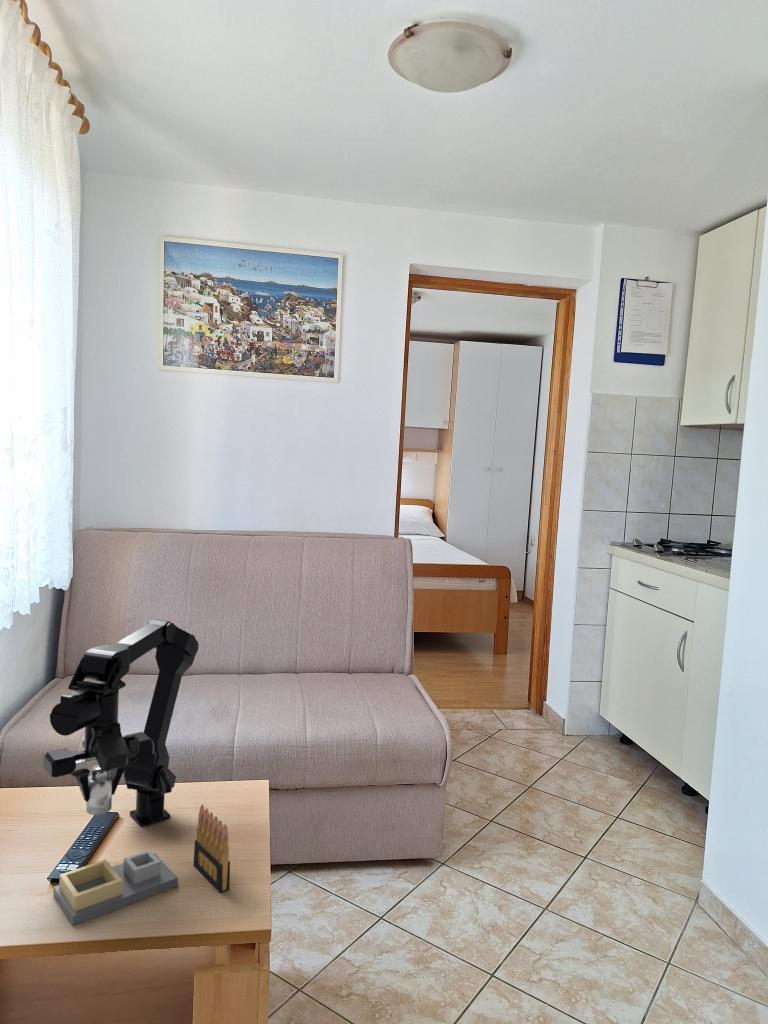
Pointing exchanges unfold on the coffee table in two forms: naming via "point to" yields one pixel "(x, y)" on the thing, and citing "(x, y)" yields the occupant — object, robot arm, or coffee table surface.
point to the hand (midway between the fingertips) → (99, 797)
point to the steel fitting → (99, 792)
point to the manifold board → (111, 885)
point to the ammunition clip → (212, 850)
